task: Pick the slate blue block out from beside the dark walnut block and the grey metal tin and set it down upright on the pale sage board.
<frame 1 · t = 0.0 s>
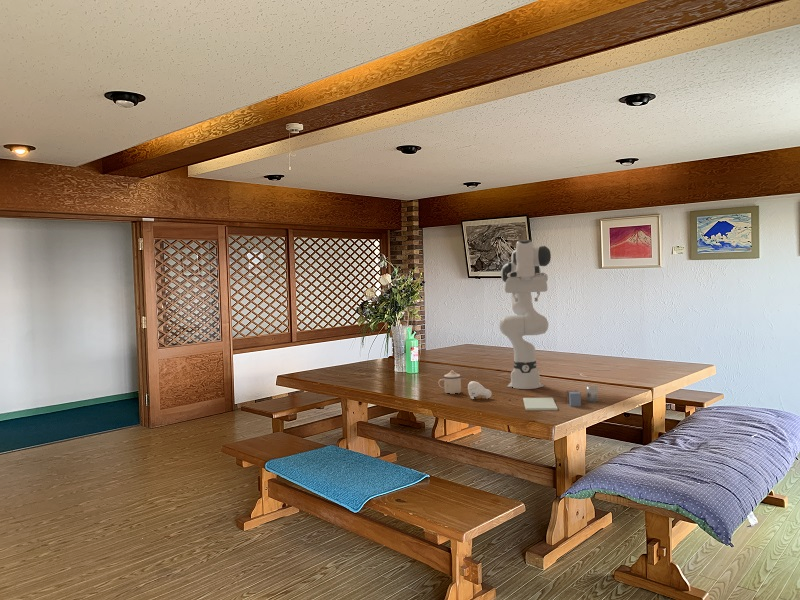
hand: (526, 301, 290), 48 cm above the table, tool pointing down, fingers open, 8 cm apart
white figurine: (480, 398, 298), on the table
walnut block: (573, 402, 283), on the table
teacup with lid: (450, 392, 315), on the table
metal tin: (592, 401, 282), on the table
sage board: (539, 404, 279), on the table
slate blue block: (575, 405, 276), on the table
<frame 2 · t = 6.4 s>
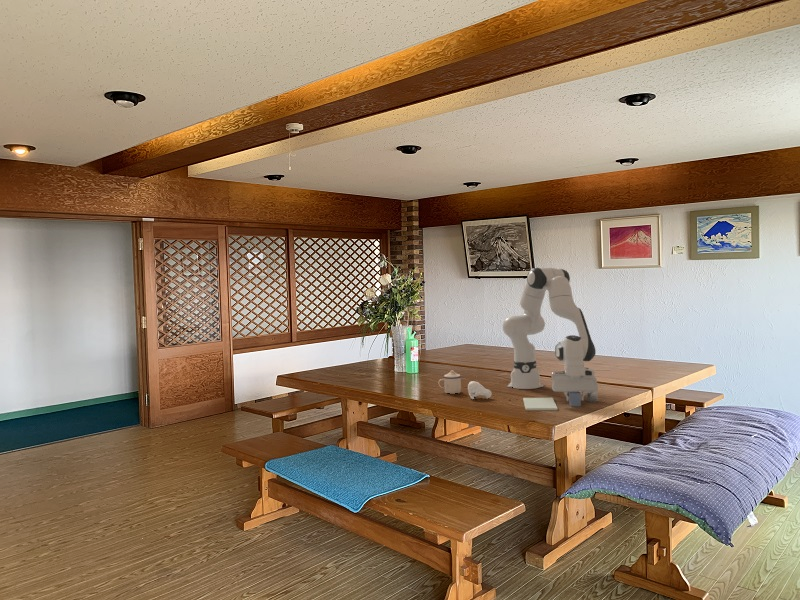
hand: (575, 400, 276), 2 cm above the table, tool pointing down, fingers closed on slate blue block, 4 cm apart
slate blue block: (575, 405, 276), on the table, touching gripper
everything else where it was.
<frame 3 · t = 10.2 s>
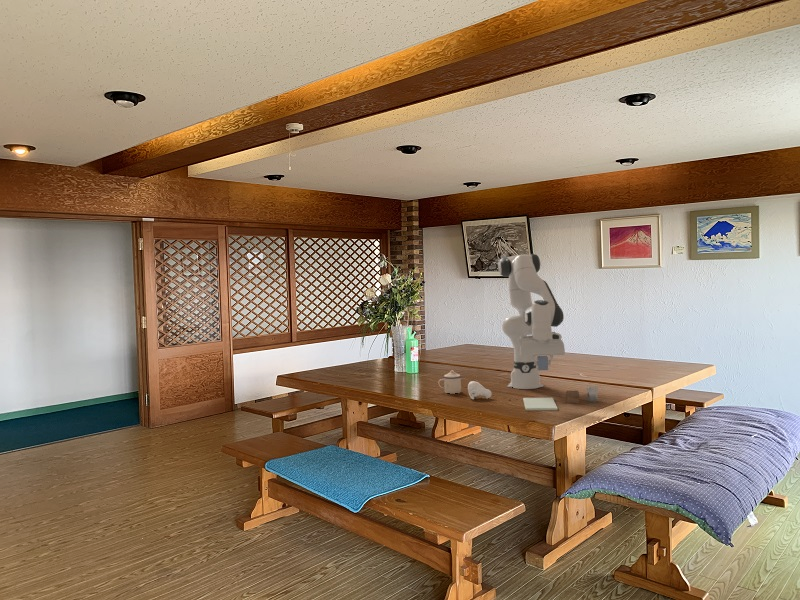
hand: (542, 364, 278), 19 cm above the table, tool pointing down, fingers closed on slate blue block, 4 cm apart
slate blue block: (542, 369, 278), point 17 cm above the table, touching gripper
everything else where it was.
when the fingers open (5 cm above the table, at t = 14.1 s): slate blue block drops 1 cm, resting on sage board.
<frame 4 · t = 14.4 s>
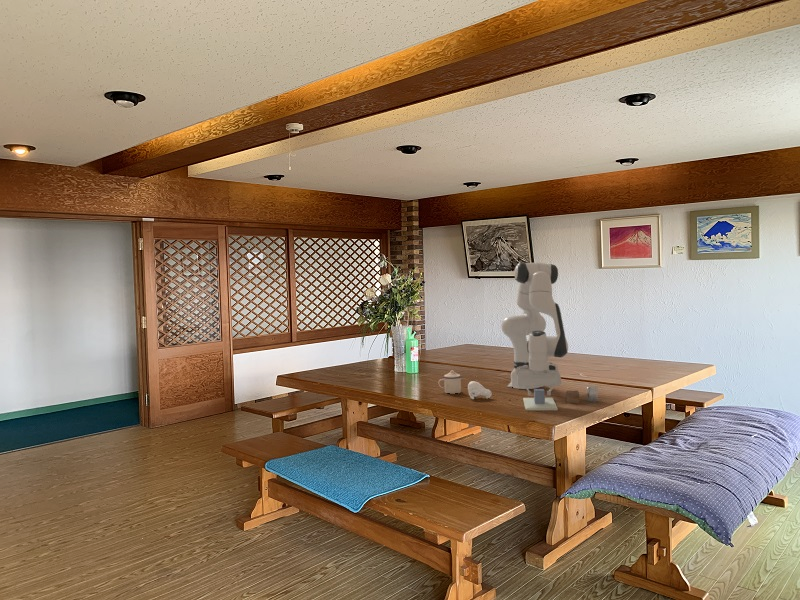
hand: (539, 395, 279), 5 cm above the table, tool pointing down, fingers open, 7 cm apart
slate blue block: (539, 402, 279), point 1 cm above the table, touching sage board
everything else where it was.
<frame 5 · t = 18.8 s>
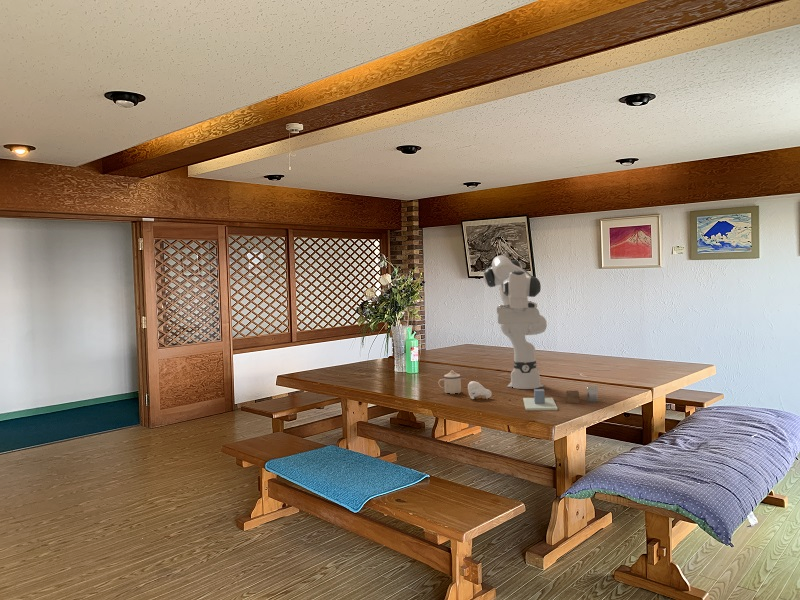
hand: (519, 333, 288), 33 cm above the table, tool pointing down, fingers open, 8 cm apart
nothing on the table moved.
at the end: slate blue block inside the target area on the sage board (0.0 cm from its centre), point 1.0 cm above the sage board's base; slate blue block tilted 0°; the gripper is holding nothing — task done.
